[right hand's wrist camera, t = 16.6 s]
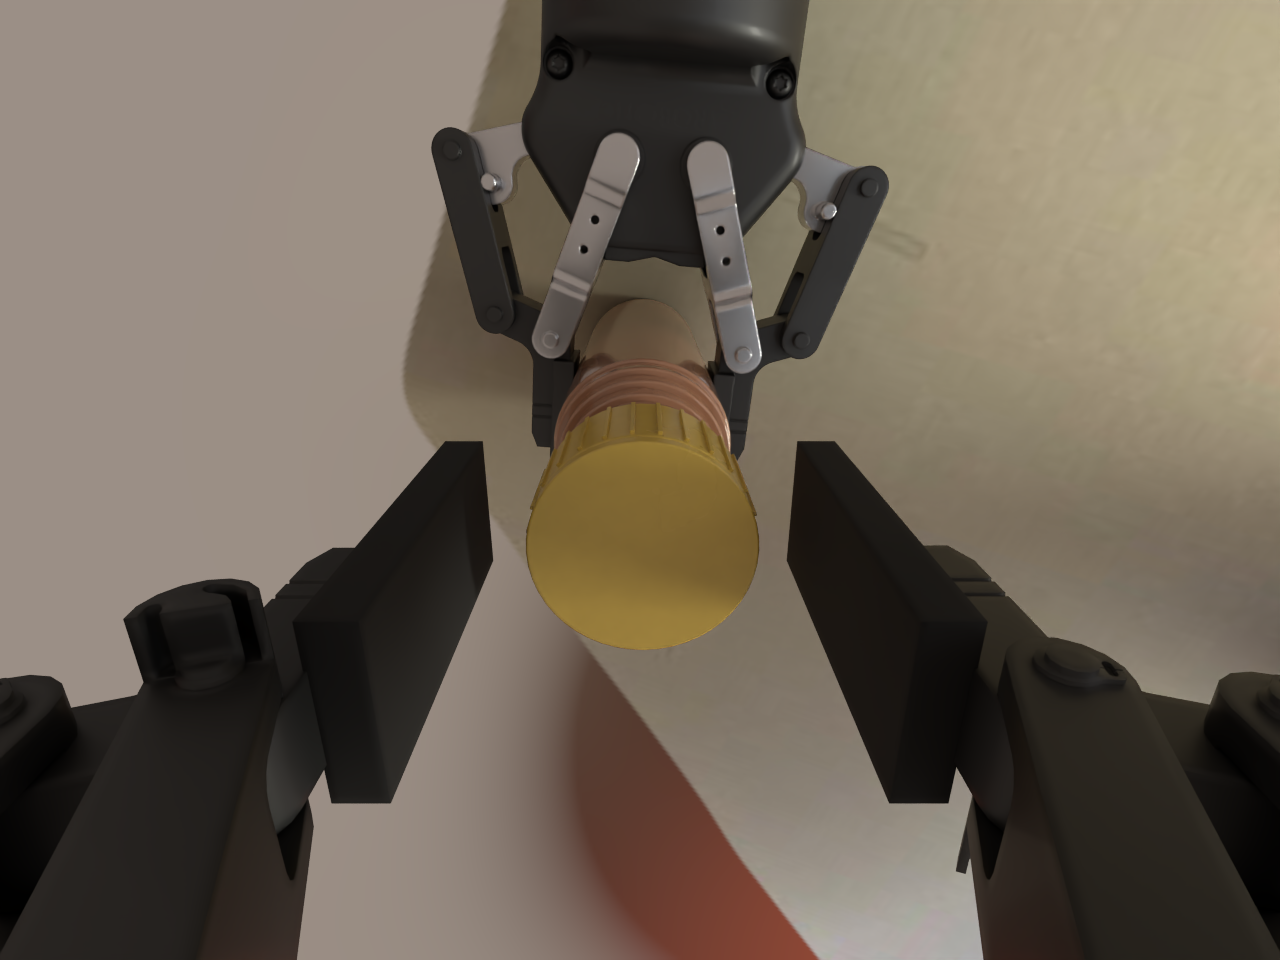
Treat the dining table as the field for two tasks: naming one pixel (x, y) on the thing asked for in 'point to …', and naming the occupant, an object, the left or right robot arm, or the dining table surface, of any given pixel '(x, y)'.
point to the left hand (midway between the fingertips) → (637, 461)
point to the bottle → (642, 369)
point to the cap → (642, 529)
